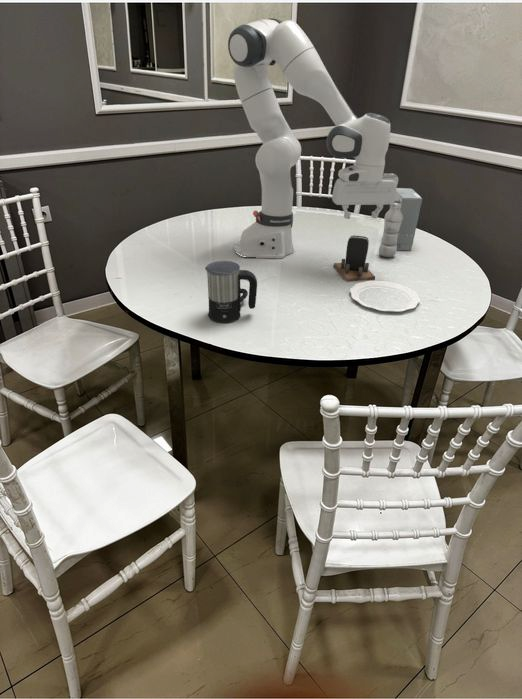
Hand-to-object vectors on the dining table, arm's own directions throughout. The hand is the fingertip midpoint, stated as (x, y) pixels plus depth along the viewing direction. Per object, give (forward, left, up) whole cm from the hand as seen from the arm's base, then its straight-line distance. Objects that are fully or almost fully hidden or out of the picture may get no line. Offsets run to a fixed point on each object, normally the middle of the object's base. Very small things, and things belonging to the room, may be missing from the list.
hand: (360, 217), depth 151 cm
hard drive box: (+28, +25, -19) cm, 42 cm away
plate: (+3, -20, -20) cm, 28 cm away
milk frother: (-46, -20, -19) cm, 54 cm away
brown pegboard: (0, 0, -19) cm, 19 cm away
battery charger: (+1, 0, -18) cm, 18 cm away
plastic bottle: (+18, +13, -19) cm, 29 cm away
